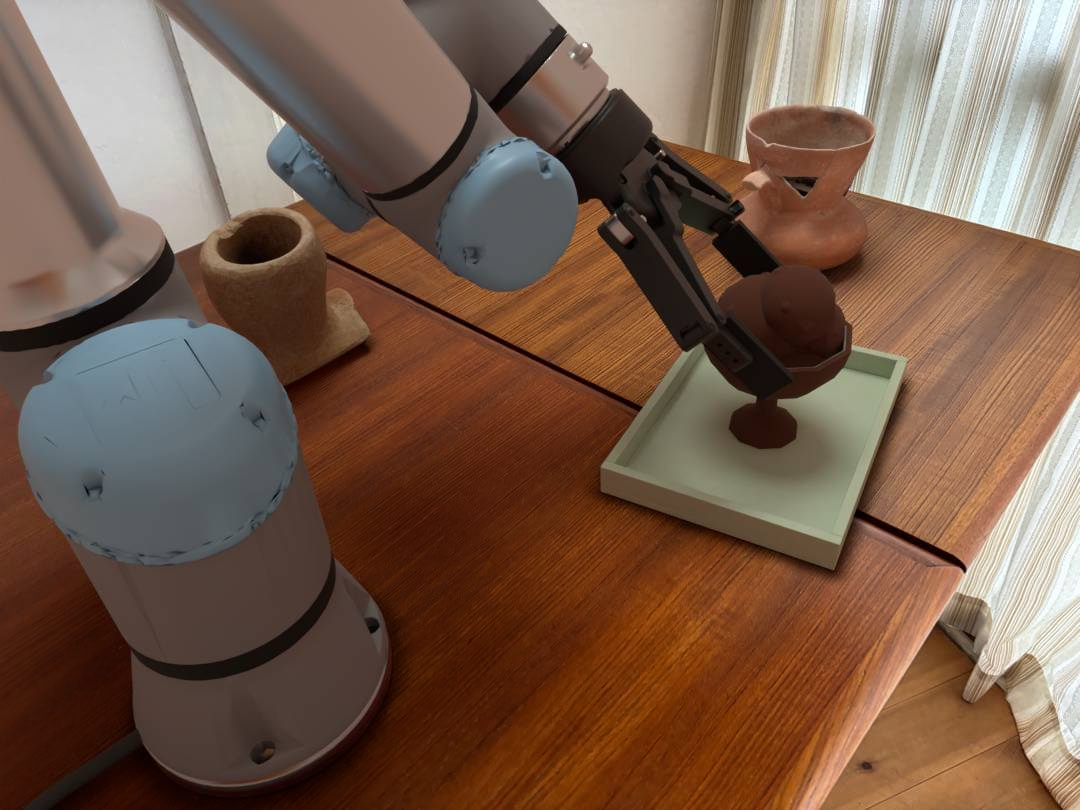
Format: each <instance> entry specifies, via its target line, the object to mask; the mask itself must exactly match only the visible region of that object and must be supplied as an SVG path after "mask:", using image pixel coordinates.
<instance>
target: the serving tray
mask: <svg viewBox="0 0 1080 810" xmlns="http://www.w3.org/2000/svg"><path fill="white" fill-rule="evenodd" d="M908 364H909V357H906V356H902V355H898V354H892V353H889V352H886V351H881V350H876V349H873V348H868V347H864V346H859V345H856V344H852V349H851V354H850V356H849V358H848V360H847V362H846V364H845V366H844V368H843V369H842V370H841V371H840V372H839V373H838V374H837V376H836V377H835V378H834V379H832V380H830V381H829V382H827V383H825V384H824V385H822V386H820V387H819V388H817V389H815V390H814V391H812V392H810V393H809V394H807V395H804V396H802V397H799V398H797V399H778V403H777V406H779V407H782V408H785V409H786V410H787V411H788V412H789V413H790V414H791V415H792V416H793V417H794V418H795V419H796V421H797V425H798V426H797V434H796V439H795V440H794V441H792V442H790V443H789V444H787V445H786V446H784V447H782V448H774V449H757V448H755V447H752V446H749V445H747V444H744V443H741V442H739V441H738V440H737V438H736V437H735V436H734V435H733V434H732V432H731V431H730V430H729V425H730V420H731V416H732V414H733V412H734V411H735V410H737V409H739V408H740V407H742V406H744V405H746V404H747V403H756V398H757V397H756V396H753V395H750V394H747V393H744V392H742V391H739V390H737V389H736V388H734V387H733V386H732V385H730V384H729V383H728V382H727V381H726V379H725V378H724V377H723V376H722V375H721V374H720V373H719V371H718V370H717V369H716V368H715V367H714V366H713V364H712V363H711V362H710V360H709V358H708V356H707V354H706V352H705V350H704V345H703V344H702V343H700V344H699V345H698V346H696V347H695V348H693V349H692V350H690V351H689V352H684V351H683V350H682V352H681V353H680V355H679V356H678V357H677V359H676V360H675V361H674V363H673V364H672V366H671V368H670V369H669V370H668V372H667V373H666V374H665V376H664V377H663V379H662V380H661V381H660V382H659V384H658V385H657V387H656V388H655V390H654V391H653V392H652V394H651V395H650V397H649V398H648V400H646V402H645V404H644V405H643V407H642V408H641V409H640V411H639V412H638V413H637V415H636V416H635V418H634V419H633V420H632V422H631V424H630V425H629V426H628V427H627V428H626V430H625V432H624V433H623V434H622V436H621V437H620V439H619V440H618V441H617V443H616V444H615V446H614V447H613V448H612V450H611V451H610V453H609V454H608V455H607V456H606V458H605V460H604V461H603V462H602V463H601V465H600V467H599V469H600V470H599V471H600V492H601V493H604V494H607V495H610V496H613V497H616V498H619V499H621V500H625V501H628V502H631V503H634V504H636V505H639V506H642V507H646V508H648V509H651V510H655V511H657V512H660V513H663V514H666V515H669V516H672V517H675V518H678V519H680V520H684V521H686V522H690V523H693V524H695V525H699V526H701V527H704V528H707V529H710V530H713V531H717V532H718V533H721V534H725V535H728V536H731V537H734V538H737V539H740V540H743V541H745V542H748V543H752V544H754V545H758V546H760V547H763V548H767V549H769V550H772V551H775V552H778V553H781V554H784V555H787V556H790V557H793V558H796V559H799V560H801V561H804V562H807V563H810V564H813V565H816V566H819V567H822V568H825V569H828V570H831V571H834V570H835V569H836V566H837V563H838V560H839V558H840V555H841V553H842V550H843V547H844V544H845V542H846V538H847V536H848V533H849V530H850V528H851V525H852V522H853V519H854V516H855V513H856V511H857V509H858V505H859V503H860V500H861V498H862V494H863V492H864V489H865V486H866V484H867V481H868V478H869V476H870V472H871V470H872V467H873V463H874V462H875V459H876V456H877V453H878V451H879V448H880V445H881V442H882V439H883V437H884V434H885V432H886V428H887V425H888V423H889V420H890V417H891V415H892V413H893V409H894V406H895V404H896V401H897V399H898V395H899V393H900V391H901V387H902V385H903V382H904V381H903V380H904V377H905V375H906V371H907V366H908Z"/></svg>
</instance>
